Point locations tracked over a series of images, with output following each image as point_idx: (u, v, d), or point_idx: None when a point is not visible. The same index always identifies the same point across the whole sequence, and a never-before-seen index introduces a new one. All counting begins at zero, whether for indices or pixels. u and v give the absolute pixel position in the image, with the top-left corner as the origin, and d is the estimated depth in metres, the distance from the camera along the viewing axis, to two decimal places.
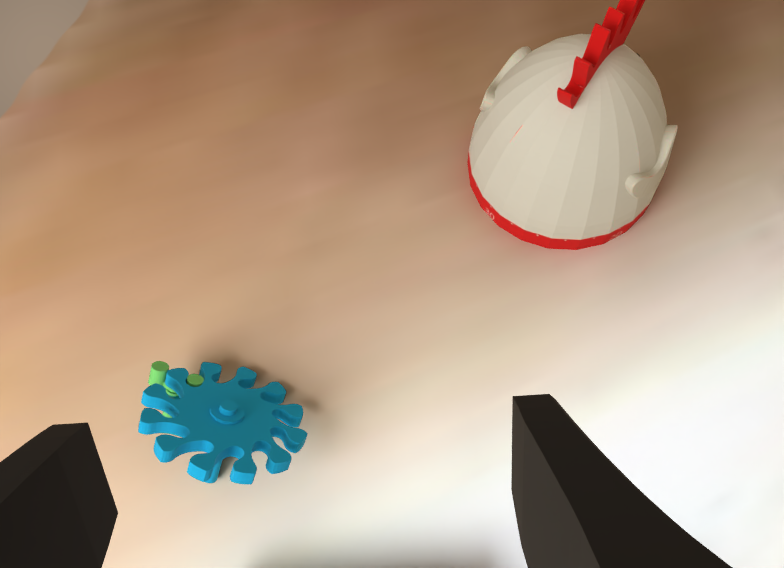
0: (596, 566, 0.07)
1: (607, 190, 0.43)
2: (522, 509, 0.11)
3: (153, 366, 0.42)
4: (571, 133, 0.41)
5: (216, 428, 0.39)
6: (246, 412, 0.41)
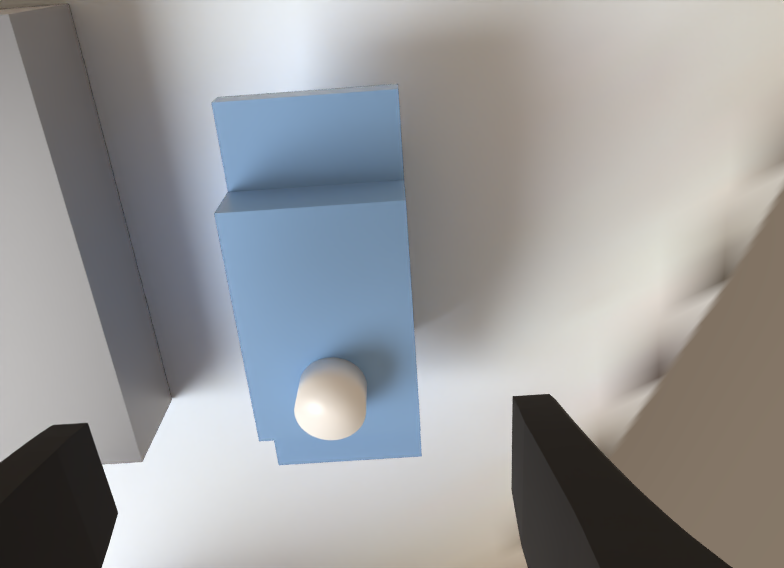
0: (596, 566, 0.07)
1: None
2: (522, 509, 0.11)
3: None
4: None
5: None
6: None
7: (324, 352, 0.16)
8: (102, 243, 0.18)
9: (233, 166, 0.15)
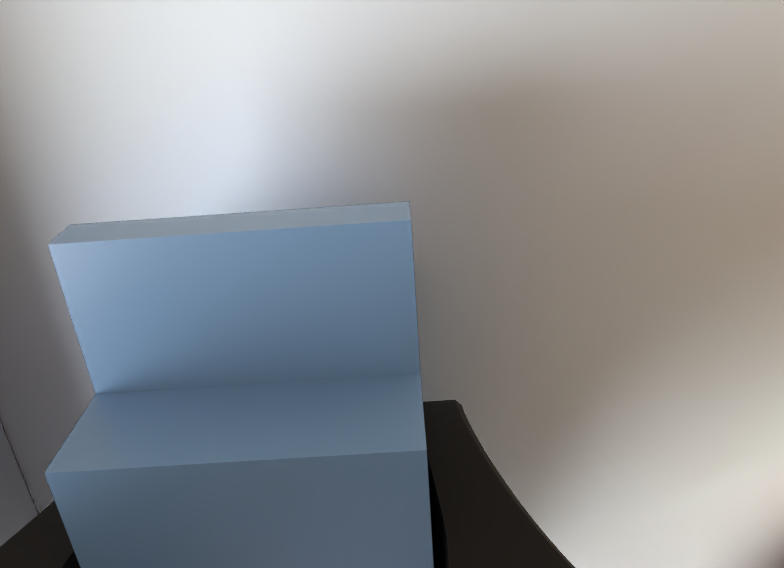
0: None
1: None
2: None
3: None
4: None
5: None
6: None
7: None
8: None
9: (101, 352, 0.08)
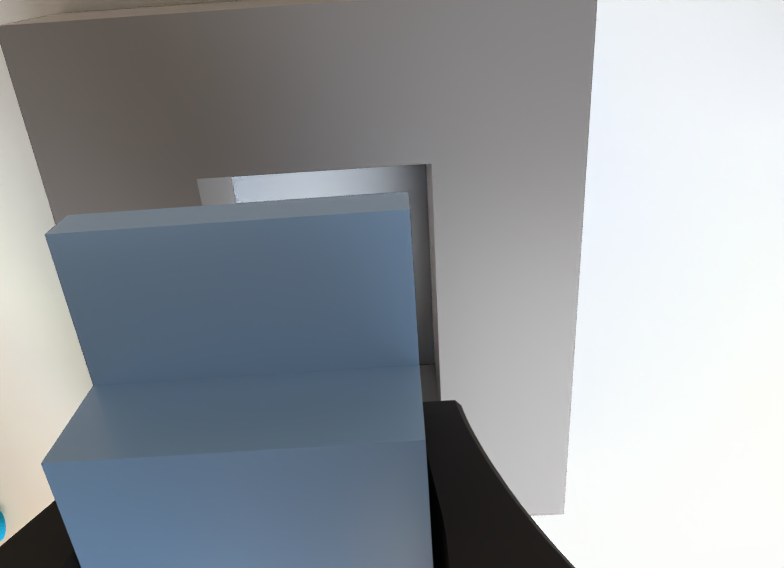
0: None
1: None
2: None
3: None
4: None
5: None
6: None
7: None
8: (288, 1, 0.14)
9: (99, 344, 0.08)
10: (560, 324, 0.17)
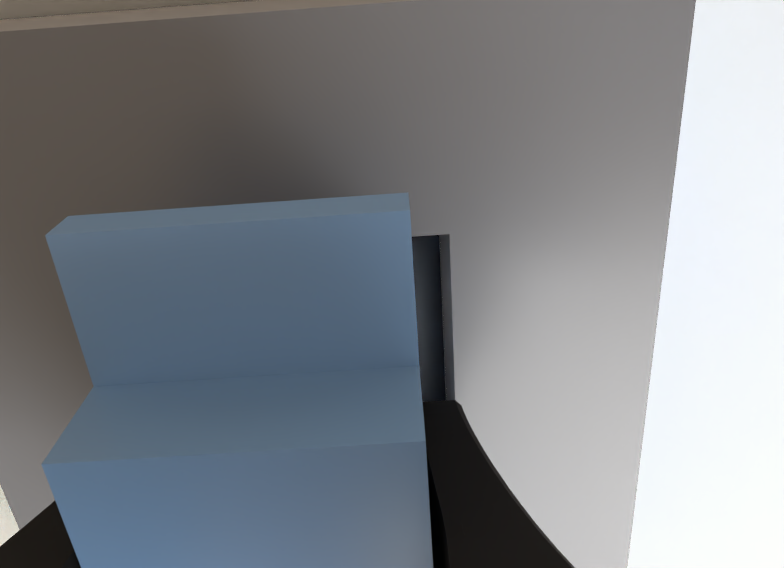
0: None
1: None
2: None
3: None
4: None
5: None
6: None
7: None
8: (245, 7, 0.10)
9: (99, 344, 0.08)
10: (621, 439, 0.12)
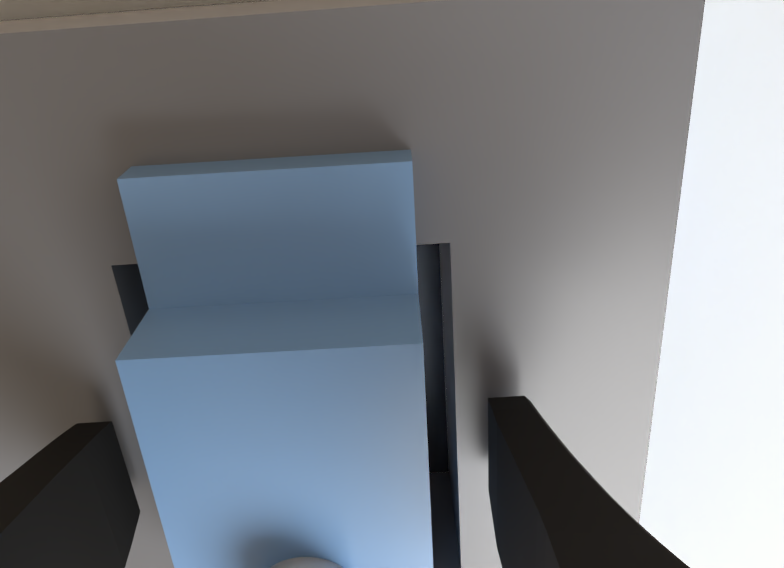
0: None
1: None
2: (497, 510, 0.11)
3: None
4: None
5: None
6: None
7: (294, 550, 0.10)
8: (240, 9, 0.10)
9: (155, 272, 0.10)
10: (626, 452, 0.12)
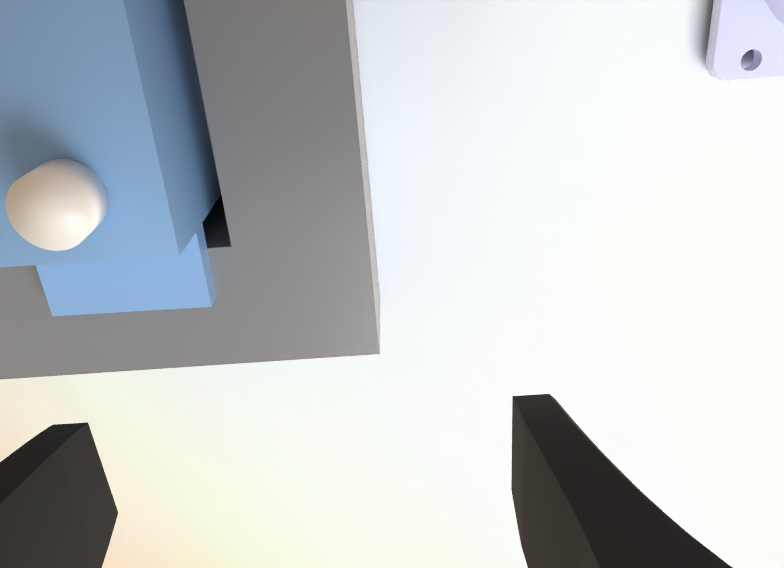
0: (596, 566, 0.07)
1: None
2: (522, 509, 0.11)
3: None
4: None
5: None
6: None
7: (51, 152, 0.14)
8: None
9: None
10: (340, 119, 0.15)
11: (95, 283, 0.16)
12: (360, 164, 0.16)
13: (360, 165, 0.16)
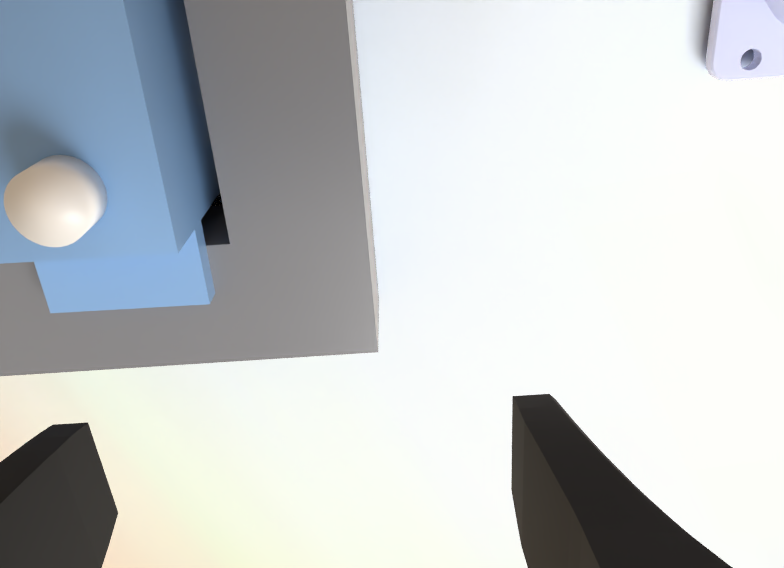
0: (596, 566, 0.07)
1: None
2: (522, 509, 0.11)
3: None
4: None
5: None
6: None
7: (50, 148, 0.14)
8: None
9: None
10: (339, 116, 0.15)
11: (93, 280, 0.16)
12: (359, 162, 0.16)
13: (359, 163, 0.16)
